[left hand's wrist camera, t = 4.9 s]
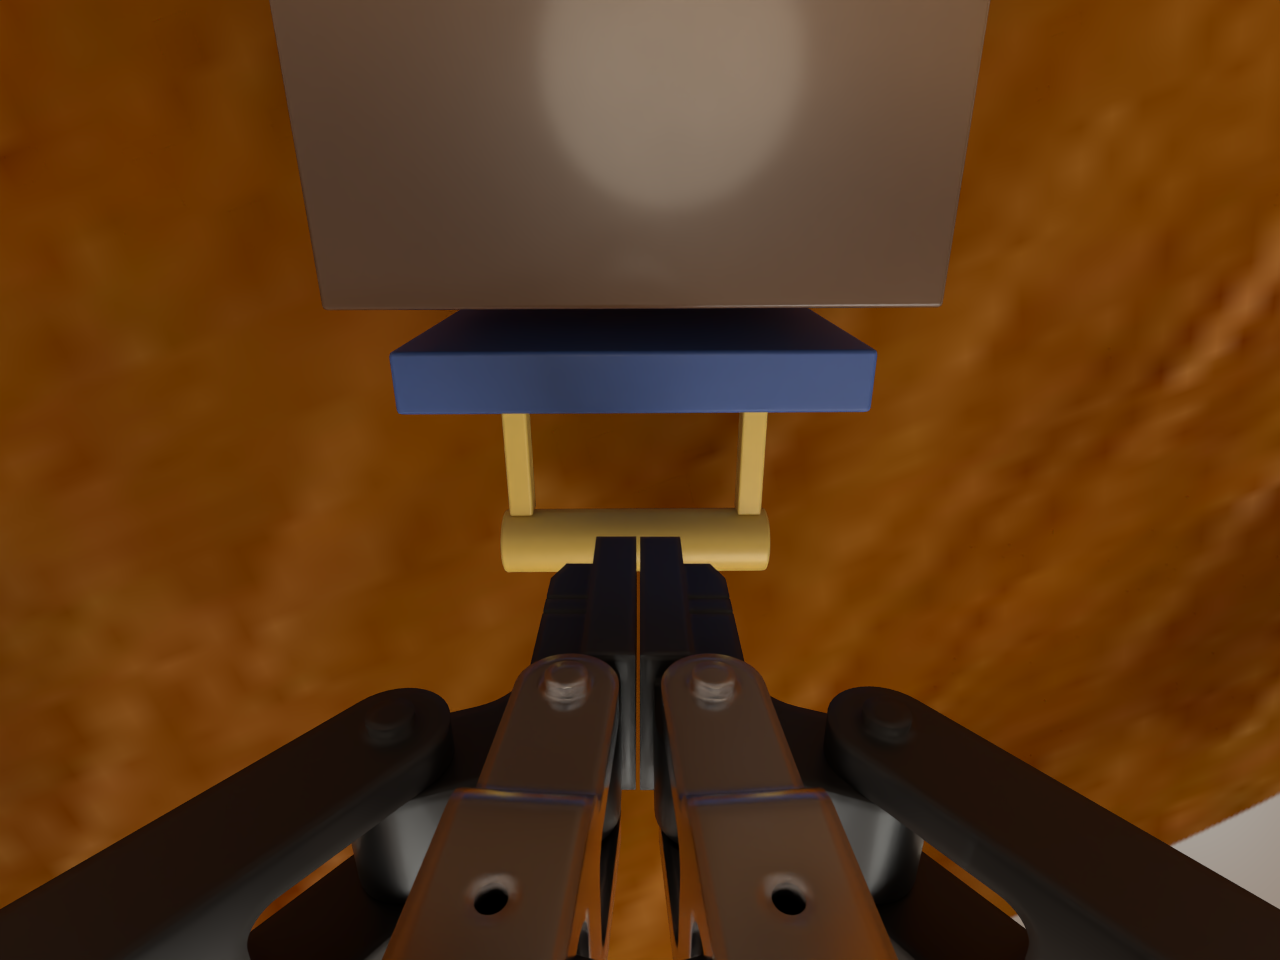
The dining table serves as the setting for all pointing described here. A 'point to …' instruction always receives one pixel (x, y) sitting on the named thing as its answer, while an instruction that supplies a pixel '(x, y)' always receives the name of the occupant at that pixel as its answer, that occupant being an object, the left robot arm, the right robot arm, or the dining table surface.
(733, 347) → the drawer
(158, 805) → the dining table surface
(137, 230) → the dining table surface
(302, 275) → the dining table surface
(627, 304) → the cabinet
